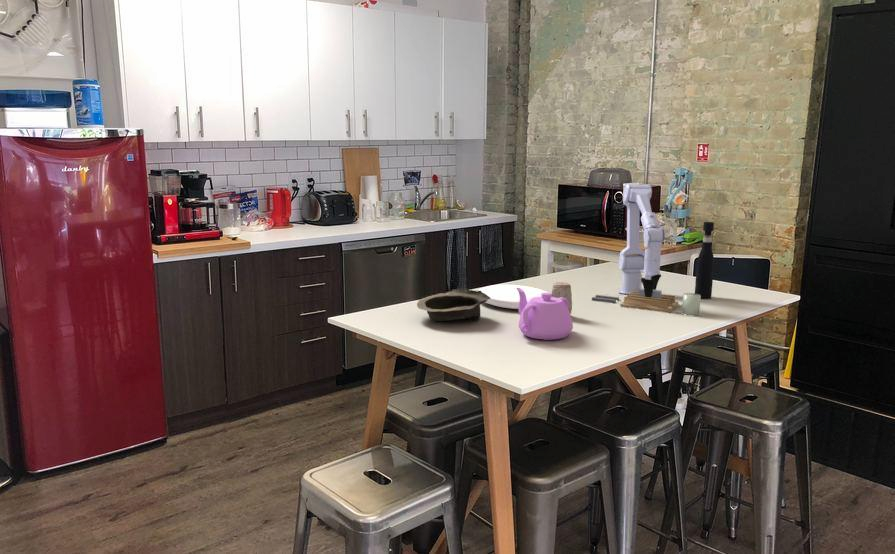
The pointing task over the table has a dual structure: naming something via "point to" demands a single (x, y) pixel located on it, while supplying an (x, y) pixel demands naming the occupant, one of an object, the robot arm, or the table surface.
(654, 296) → the light blue slab
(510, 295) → the plate
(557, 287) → the carving
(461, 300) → the stone bowl
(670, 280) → the table surface
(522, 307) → the teapot
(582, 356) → the table surface
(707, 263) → the black thermos bottle
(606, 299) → the drying stand
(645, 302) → the dish rack
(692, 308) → the pale green cylinder
